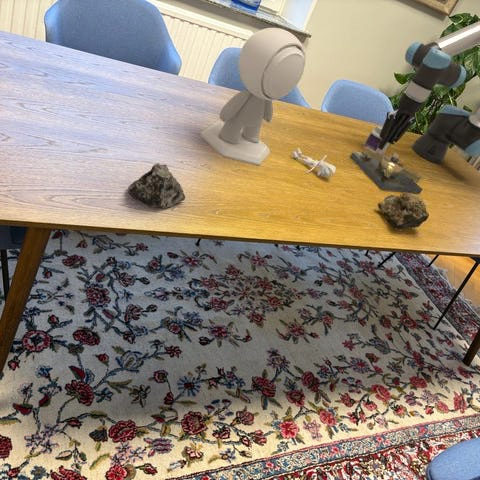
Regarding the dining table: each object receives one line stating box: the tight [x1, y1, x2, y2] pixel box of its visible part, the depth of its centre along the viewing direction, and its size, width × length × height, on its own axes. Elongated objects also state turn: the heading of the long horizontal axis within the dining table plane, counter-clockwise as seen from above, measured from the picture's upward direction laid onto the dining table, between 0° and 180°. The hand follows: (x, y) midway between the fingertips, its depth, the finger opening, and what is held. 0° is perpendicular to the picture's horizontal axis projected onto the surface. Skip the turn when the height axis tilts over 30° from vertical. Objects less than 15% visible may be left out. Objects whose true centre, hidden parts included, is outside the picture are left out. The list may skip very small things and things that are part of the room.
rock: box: [128, 163, 186, 209], centre depth 99 cm, size 13×10×10 cm
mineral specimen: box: [377, 192, 430, 231], centre depth 135 cm, size 14×13×10 cm
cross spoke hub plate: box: [349, 150, 423, 195], centre depth 163 cm, size 20×20×3 cm
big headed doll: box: [199, 27, 306, 166], centre depth 127 cm, size 20×23×35 cm
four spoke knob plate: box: [362, 147, 422, 184], centre depth 161 cm, size 22×22×4 cm
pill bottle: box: [362, 125, 383, 151], centre depth 177 cm, size 5×5×10 cm
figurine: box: [292, 147, 337, 178], centre depth 143 cm, size 12×5×15 cm
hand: (377, 156), depth 164 cm, fingers closed
